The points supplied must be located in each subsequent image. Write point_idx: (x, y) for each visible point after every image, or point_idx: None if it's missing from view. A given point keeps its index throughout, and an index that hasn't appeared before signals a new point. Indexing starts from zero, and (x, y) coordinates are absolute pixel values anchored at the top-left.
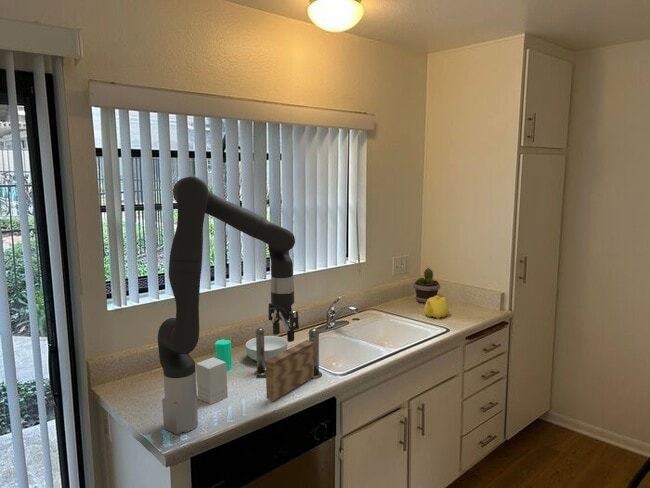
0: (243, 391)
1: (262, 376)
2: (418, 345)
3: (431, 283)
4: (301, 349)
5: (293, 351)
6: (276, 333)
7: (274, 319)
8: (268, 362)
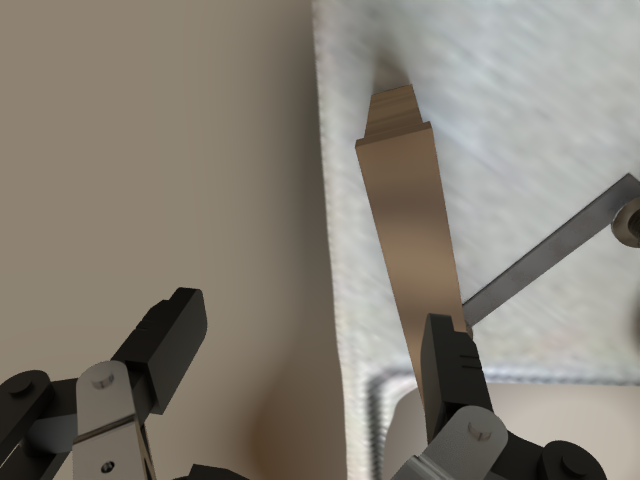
0: (575, 44)
1: (609, 201)
2: None
3: None
4: (414, 370)
5: (416, 330)
6: (424, 334)
7: (405, 466)
8: (395, 136)
